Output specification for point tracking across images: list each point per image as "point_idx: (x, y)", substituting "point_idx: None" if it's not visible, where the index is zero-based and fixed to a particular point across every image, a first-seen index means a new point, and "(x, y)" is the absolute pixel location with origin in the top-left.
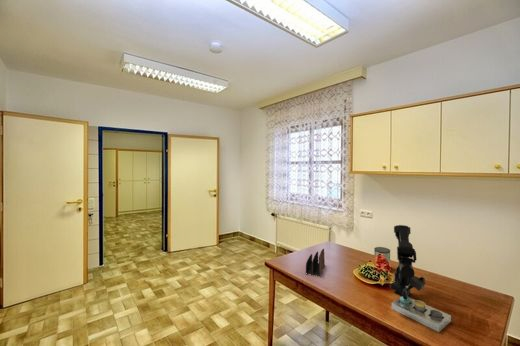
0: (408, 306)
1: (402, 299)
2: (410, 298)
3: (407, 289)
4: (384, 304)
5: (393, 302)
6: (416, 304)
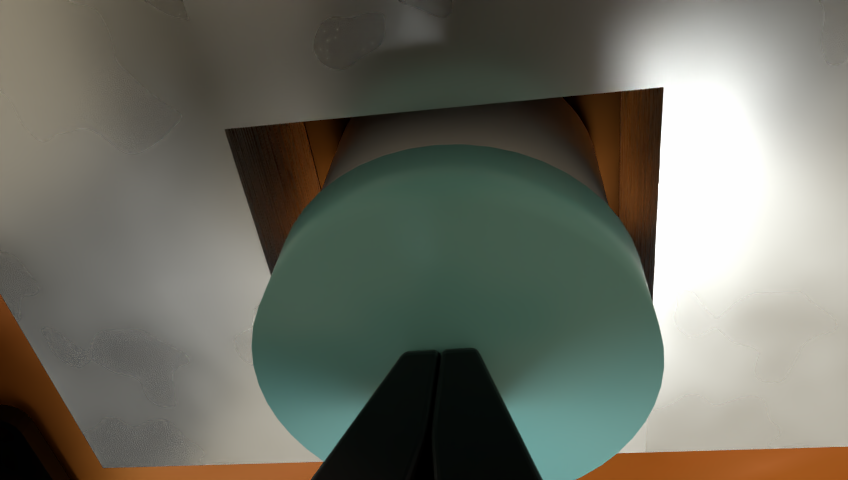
0: (663, 55)
1: (594, 403)
2: (48, 318)
3: None
4: (776, 458)
5: (838, 432)
6: None
